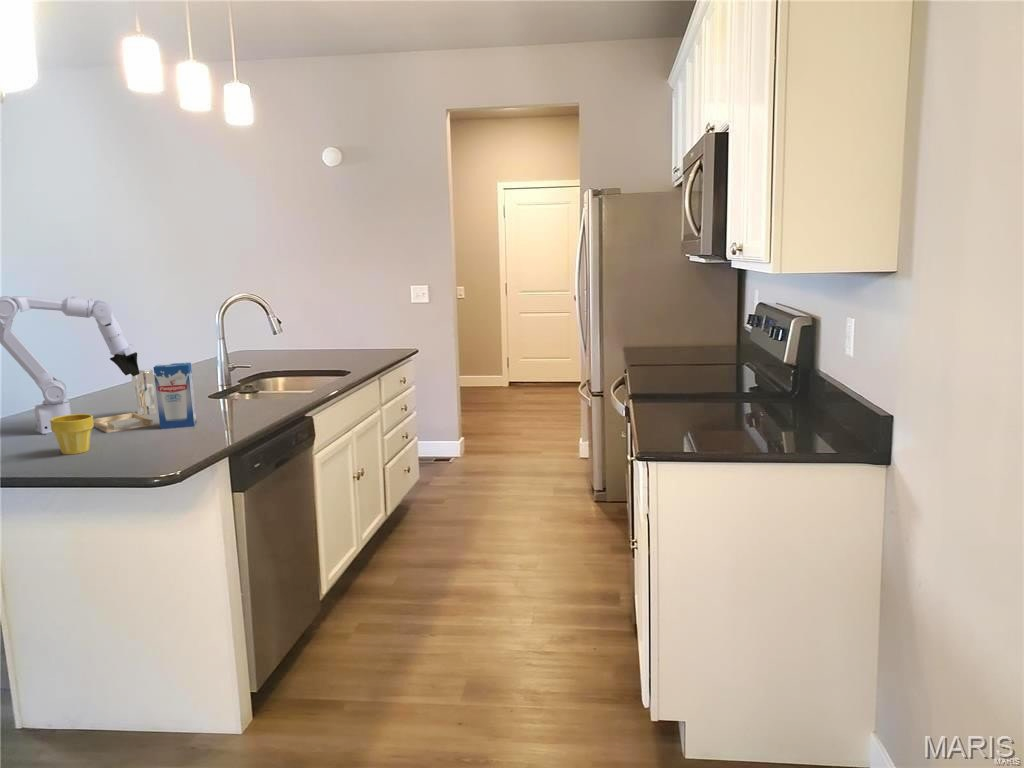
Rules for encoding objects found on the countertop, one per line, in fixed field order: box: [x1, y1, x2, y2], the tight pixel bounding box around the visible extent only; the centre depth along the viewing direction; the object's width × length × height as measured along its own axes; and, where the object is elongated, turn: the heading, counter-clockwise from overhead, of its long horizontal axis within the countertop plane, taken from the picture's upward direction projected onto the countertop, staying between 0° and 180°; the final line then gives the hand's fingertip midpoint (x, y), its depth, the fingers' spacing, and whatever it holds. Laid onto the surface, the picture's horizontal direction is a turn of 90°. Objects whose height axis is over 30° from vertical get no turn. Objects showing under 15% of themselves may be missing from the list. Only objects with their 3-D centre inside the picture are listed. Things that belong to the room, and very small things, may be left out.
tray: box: [93, 412, 154, 434], centre depth 240 cm, size 14×17×2 cm
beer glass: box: [131, 369, 157, 416], centre depth 257 cm, size 7×7×15 cm
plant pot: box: [50, 413, 95, 455], centre depth 210 cm, size 10×10×10 cm
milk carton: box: [153, 362, 198, 430], centre depth 235 cm, size 10×6×20 cm, turn 105°
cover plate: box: [107, 418, 142, 430], centre depth 238 cm, size 8×7×2 cm
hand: (132, 374), depth 247 cm, fingers open, 7 cm apart
